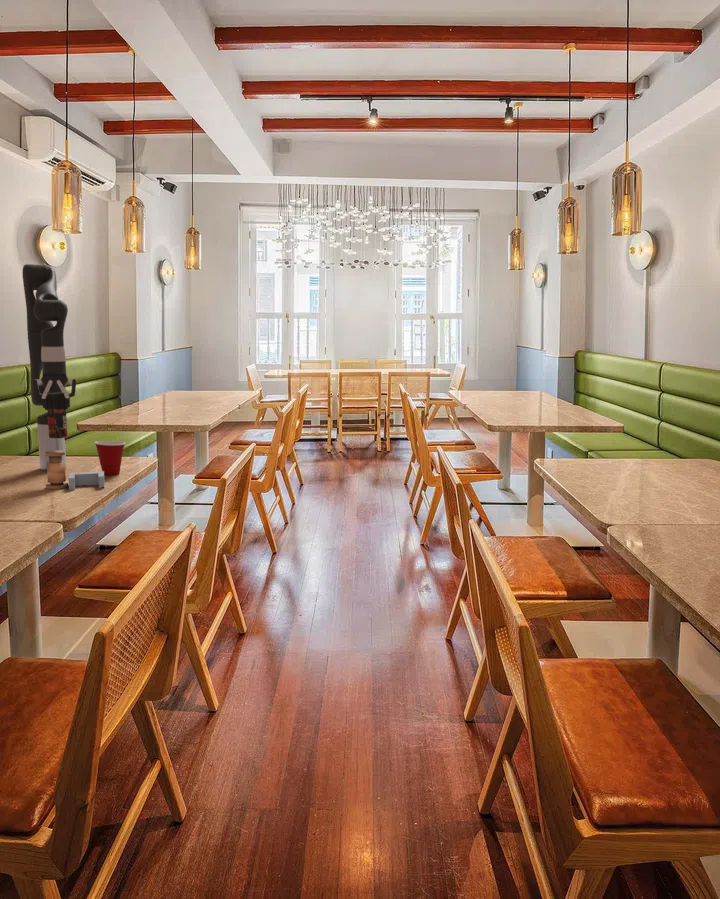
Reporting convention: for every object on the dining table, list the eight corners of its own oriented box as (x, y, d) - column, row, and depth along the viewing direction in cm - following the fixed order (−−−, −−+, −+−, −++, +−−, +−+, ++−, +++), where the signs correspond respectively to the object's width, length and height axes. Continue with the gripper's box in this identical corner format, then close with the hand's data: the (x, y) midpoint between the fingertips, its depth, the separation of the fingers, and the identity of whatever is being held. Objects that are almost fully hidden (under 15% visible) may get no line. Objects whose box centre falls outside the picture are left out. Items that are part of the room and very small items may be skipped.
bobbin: (46, 485, 252) (44, 450, 250) (68, 484, 255) (66, 449, 253) (45, 490, 246) (42, 454, 244) (67, 488, 248) (65, 453, 246)
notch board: (70, 484, 254) (69, 473, 254) (104, 482, 258) (103, 471, 257) (69, 490, 246) (68, 478, 245) (104, 487, 249) (103, 476, 249)
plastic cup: (133, 473, 274) (131, 441, 272) (105, 478, 266) (103, 444, 264) (117, 469, 281) (116, 438, 279) (90, 473, 273) (88, 441, 271)
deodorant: (52, 435, 260) (49, 392, 257) (69, 435, 261) (67, 392, 258) (46, 438, 254) (43, 394, 252) (64, 438, 255) (62, 394, 252)
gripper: (76, 359, 259) (79, 407, 262) (31, 359, 254) (34, 408, 257) (76, 360, 252) (78, 410, 255) (29, 360, 247) (32, 411, 250)
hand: (56, 409), depth 256 cm, fingers closed on deodorant, 6 cm apart
